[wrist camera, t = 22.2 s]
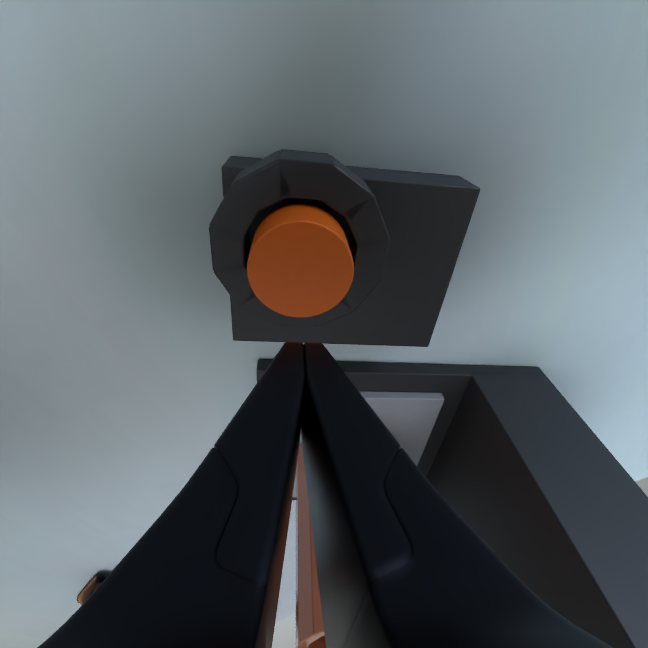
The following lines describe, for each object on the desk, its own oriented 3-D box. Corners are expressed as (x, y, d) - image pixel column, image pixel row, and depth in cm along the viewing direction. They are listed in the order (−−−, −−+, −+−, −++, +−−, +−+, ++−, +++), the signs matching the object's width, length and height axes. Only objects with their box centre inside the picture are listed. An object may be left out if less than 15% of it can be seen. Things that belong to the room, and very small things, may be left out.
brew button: (253, 290, 14) (248, 316, 13) (250, 199, 12) (244, 217, 11) (341, 295, 15) (346, 320, 13) (353, 207, 13) (361, 225, 11)
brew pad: (234, 315, 19) (221, 365, 16) (222, 134, 14) (200, 151, 11) (416, 323, 20) (439, 370, 17) (465, 157, 15) (511, 179, 12)
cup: (360, 489, 27) (388, 669, 19) (279, 468, 25) (271, 662, 16) (414, 438, 24) (477, 628, 16) (328, 408, 21) (348, 612, 13)
